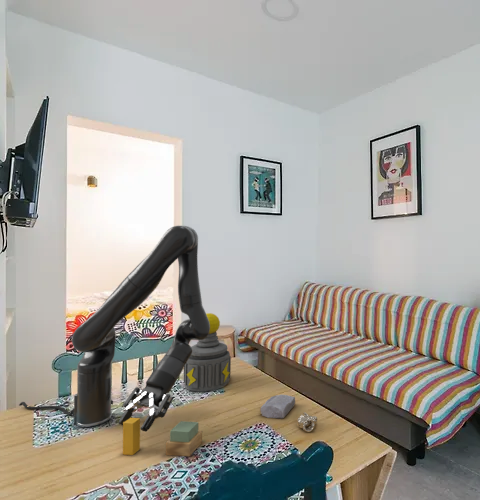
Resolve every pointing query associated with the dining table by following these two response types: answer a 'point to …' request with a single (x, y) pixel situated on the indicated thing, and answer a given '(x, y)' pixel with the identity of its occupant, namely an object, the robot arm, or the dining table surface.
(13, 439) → the dining table surface
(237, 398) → the dining table surface
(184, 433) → the block
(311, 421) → the ornament
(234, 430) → the dining table surface
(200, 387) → the decorative lamp
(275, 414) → the stone block
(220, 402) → the dining table surface
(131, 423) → the bar
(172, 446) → the tower base
